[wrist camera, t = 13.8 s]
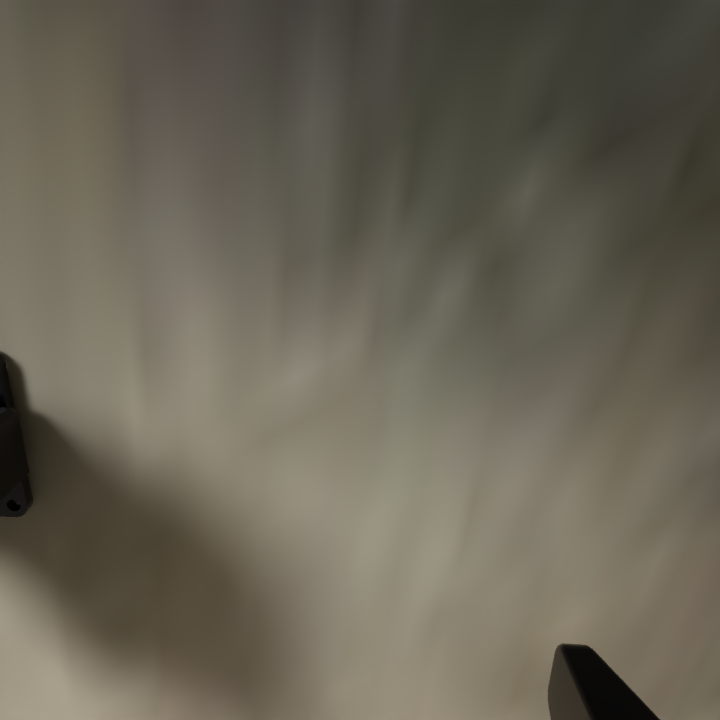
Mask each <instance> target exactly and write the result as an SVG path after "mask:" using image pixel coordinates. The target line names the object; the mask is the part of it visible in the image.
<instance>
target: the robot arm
mask: <svg viewBox="0 0 720 720" xmlns="http://www.w3.org/2000/svg"><path fill="white" fill-rule="evenodd" d="M28 473H29V469H28V464H27V459H26V454H25V449H24V444H23V438H22V433H21V428H20V423H19V418H18V414H17V412H16V411H15V409H14V404H13V399H12V394H11V389H10V384H9V379H8V374H7V369H6V364H5V361H4V359H3V357H2V356H1V355H0V516H7V517H19V516H22V515H24V514H25V513H26V512H27V511H28V510H29V509H30V507H31V506H32V503H33V499H32V494H31V489H30V484H29V479H28ZM13 500H16V501H17V502H19V504H20V505H18V504H16V503H15V502H14V501H13ZM548 704H549V711H550V717H551V720H660V719H659V718H658V717H657V716H656V715H655V714H654V713H653V712H652V711H651V710H650V709H649V708H648V707H647V705H646V704H645V703H644V702H643V701H642V700H641V699H640V698H639V697H638V696H637V695H636V694H635V693H634V692H633V691H632V690H631V689H630V688H629V687H628V686H627V684H626V683H625V682H624V681H623V680H622V679H621V678H620V677H619V676H618V675H617V674H616V673H615V672H614V671H613V670H612V669H611V668H610V667H609V666H608V665H607V664H606V662H605V661H604V660H603V659H602V658H601V657H600V656H599V655H598V654H597V653H596V652H595V651H594V650H593V649H592V648H590V647H589V646H587V645H578V644H560V645H558V647H557V648H556V651H555V655H554V660H553V665H552V671H551V676H550V681H549V687H548Z"/></svg>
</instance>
